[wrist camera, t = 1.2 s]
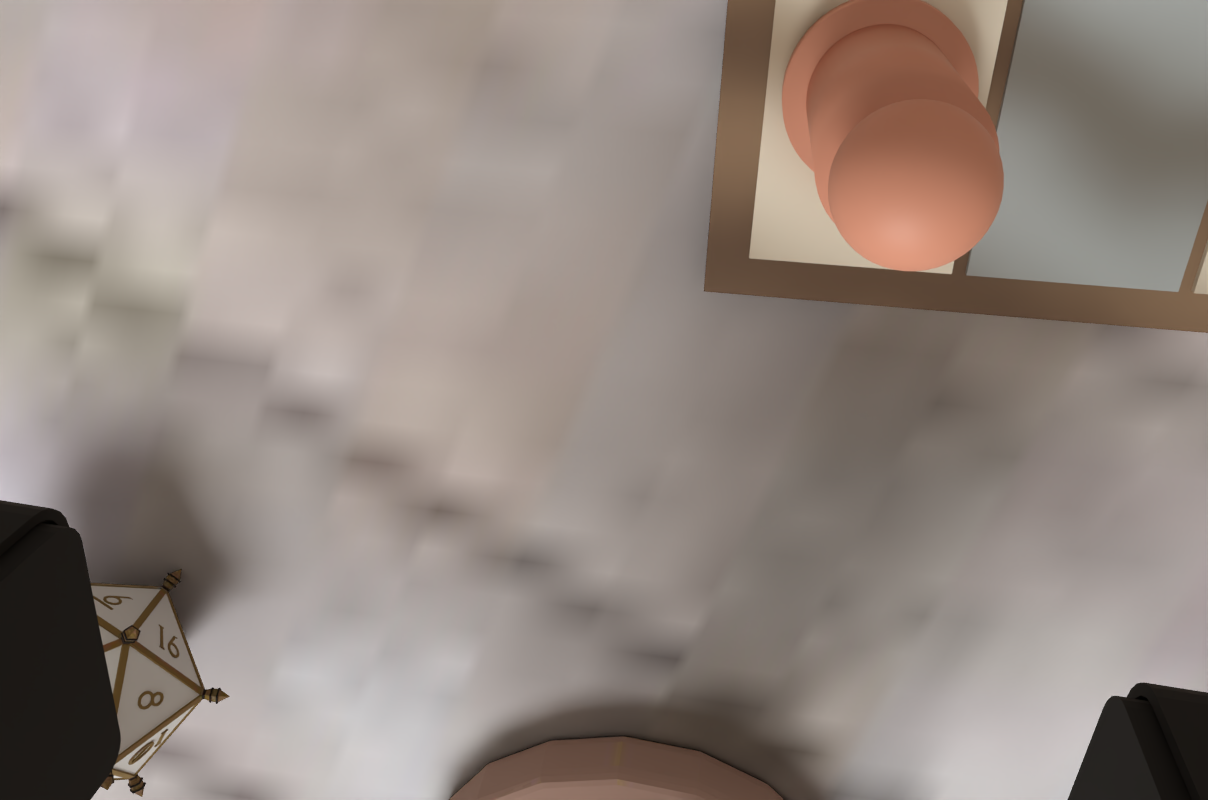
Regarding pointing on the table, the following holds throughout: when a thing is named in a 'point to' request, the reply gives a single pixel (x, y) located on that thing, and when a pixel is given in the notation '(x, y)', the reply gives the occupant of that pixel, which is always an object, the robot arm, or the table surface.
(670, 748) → the wooden pedestal stand
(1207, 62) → the board
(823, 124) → the pawn
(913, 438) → the table surface
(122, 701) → the game die
